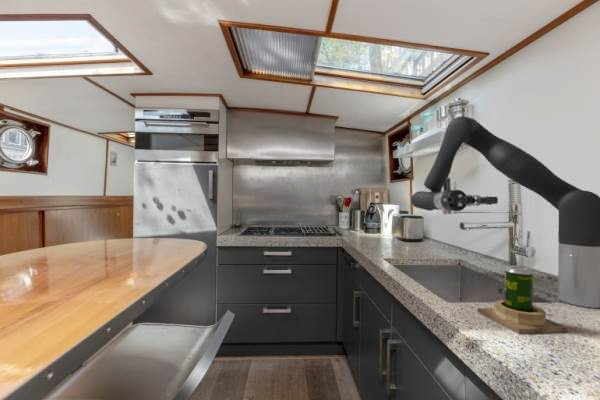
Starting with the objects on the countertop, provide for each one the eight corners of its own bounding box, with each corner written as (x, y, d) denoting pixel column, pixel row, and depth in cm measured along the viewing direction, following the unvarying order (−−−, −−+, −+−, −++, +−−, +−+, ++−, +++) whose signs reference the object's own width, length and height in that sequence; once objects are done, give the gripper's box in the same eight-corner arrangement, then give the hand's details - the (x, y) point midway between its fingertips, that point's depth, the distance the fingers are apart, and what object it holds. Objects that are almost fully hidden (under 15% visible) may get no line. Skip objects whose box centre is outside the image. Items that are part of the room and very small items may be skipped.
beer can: (518, 312, 70) (519, 265, 70) (538, 321, 64) (539, 270, 65) (499, 312, 69) (499, 265, 70) (518, 321, 64) (518, 270, 64)
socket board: (518, 311, 73) (518, 298, 73) (567, 331, 61) (567, 316, 62) (477, 312, 72) (477, 298, 72) (518, 333, 60) (519, 317, 60)
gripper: (431, 189, 100) (463, 187, 84) (467, 190, 102) (505, 188, 86) (431, 210, 100) (462, 211, 84) (467, 211, 102) (504, 212, 86)
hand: (484, 199), depth 85 cm, fingers open, 8 cm apart
